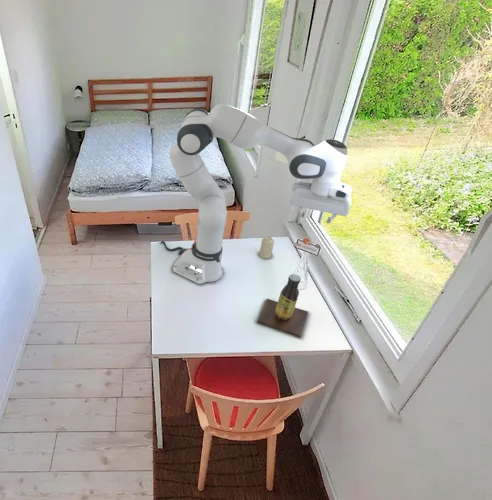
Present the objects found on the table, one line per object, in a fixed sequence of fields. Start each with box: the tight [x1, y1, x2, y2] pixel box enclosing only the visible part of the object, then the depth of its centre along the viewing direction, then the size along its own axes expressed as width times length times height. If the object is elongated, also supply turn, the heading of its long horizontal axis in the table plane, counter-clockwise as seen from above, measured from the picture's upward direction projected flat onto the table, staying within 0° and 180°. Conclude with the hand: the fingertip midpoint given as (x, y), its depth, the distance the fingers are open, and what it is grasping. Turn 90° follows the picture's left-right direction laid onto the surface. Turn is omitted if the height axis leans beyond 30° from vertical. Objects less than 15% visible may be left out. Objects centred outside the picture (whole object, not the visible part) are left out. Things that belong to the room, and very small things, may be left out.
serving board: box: [256, 298, 309, 338], centre depth 149 cm, size 16×14×1 cm
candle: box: [259, 235, 275, 259], centre depth 180 cm, size 6×6×10 cm
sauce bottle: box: [275, 273, 301, 320], centre depth 143 cm, size 7×6×20 cm
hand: (315, 219), depth 143 cm, fingers open, 8 cm apart
